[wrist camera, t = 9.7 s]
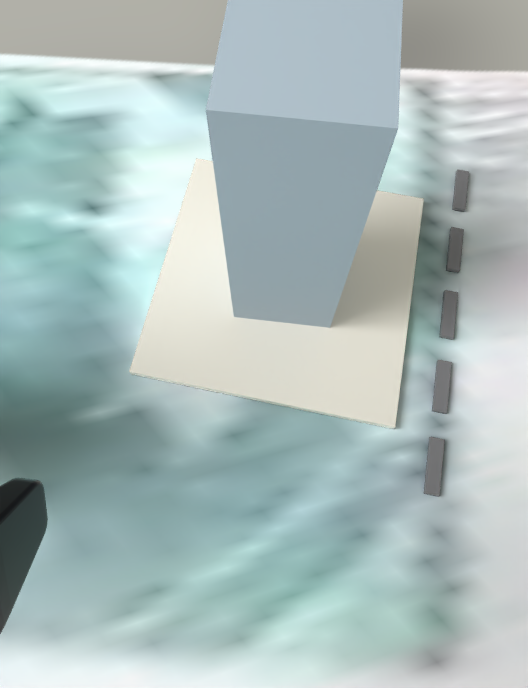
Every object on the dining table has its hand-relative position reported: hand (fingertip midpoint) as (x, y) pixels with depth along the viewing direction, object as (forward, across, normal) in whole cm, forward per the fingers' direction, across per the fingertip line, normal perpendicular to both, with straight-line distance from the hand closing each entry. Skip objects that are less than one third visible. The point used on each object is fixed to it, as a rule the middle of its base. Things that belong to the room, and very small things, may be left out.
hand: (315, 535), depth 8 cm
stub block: (+17, +1, +1) cm, 17 cm away
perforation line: (+17, -7, +2) cm, 18 cm away
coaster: (+18, +1, +2) cm, 18 cm away
